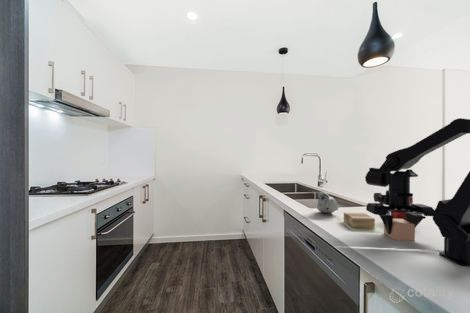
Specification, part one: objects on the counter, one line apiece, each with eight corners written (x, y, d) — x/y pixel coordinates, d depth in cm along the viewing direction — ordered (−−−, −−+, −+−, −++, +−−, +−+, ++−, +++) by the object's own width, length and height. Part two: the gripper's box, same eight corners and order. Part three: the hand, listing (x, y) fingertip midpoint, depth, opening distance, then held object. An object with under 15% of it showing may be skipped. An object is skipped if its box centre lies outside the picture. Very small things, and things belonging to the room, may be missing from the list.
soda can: (416, 227, 82) (417, 197, 82) (396, 225, 84) (396, 196, 84) (405, 221, 90) (406, 193, 90) (387, 220, 91) (387, 193, 91)
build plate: (388, 234, 75) (388, 232, 75) (353, 232, 76) (353, 231, 76) (364, 220, 91) (364, 218, 91) (336, 219, 92) (336, 218, 92)
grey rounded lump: (343, 218, 92) (341, 191, 94) (321, 217, 93) (320, 190, 95) (333, 216, 102) (332, 191, 104) (314, 215, 103) (313, 191, 105)
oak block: (374, 229, 78) (374, 218, 78) (352, 228, 79) (352, 218, 79) (363, 222, 86) (363, 212, 86) (343, 221, 87) (343, 212, 87)
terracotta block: (414, 242, 68) (414, 224, 68) (395, 241, 68) (395, 223, 68) (401, 235, 74) (401, 218, 74) (383, 234, 74) (384, 218, 74)
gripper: (410, 185, 78) (410, 227, 78) (358, 185, 80) (358, 225, 80) (436, 191, 67) (435, 238, 67) (375, 190, 69) (375, 236, 69)
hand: (398, 234), depth 71 cm, fingers closed on terracotta block, 6 cm apart
